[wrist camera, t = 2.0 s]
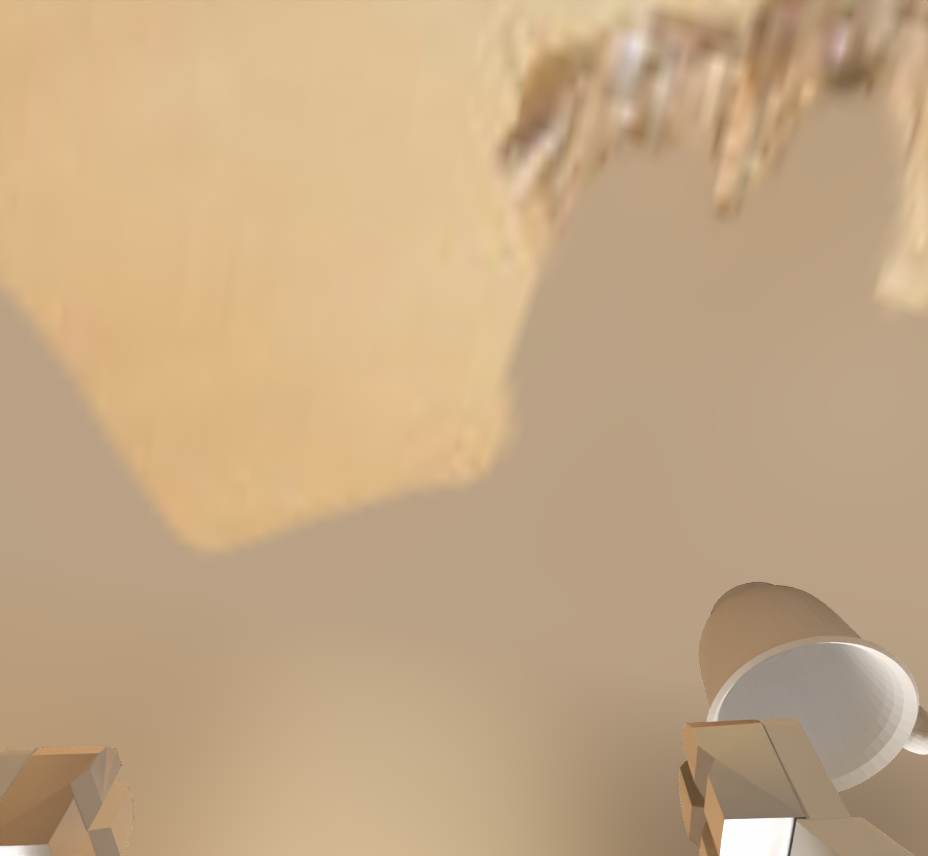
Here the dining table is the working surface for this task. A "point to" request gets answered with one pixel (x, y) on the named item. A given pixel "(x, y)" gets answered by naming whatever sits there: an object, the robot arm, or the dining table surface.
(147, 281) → the dining table surface
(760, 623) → the teacup
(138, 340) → the dining table surface
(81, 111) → the dining table surface
